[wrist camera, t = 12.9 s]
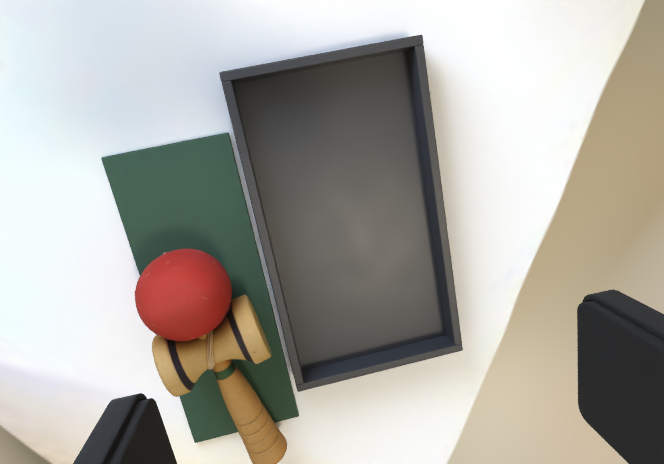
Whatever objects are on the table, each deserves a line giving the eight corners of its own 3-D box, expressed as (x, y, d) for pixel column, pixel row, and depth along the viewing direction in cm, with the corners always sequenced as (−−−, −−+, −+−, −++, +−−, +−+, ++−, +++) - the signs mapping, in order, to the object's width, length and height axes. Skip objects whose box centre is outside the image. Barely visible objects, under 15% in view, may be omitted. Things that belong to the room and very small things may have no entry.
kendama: (319, 404, 36) (232, 218, 29) (318, 473, 30) (207, 263, 23) (236, 425, 37) (131, 251, 30) (219, 497, 31) (84, 302, 24)
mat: (102, 157, 28) (101, 157, 28) (228, 132, 29) (227, 132, 29) (195, 440, 34) (194, 443, 34) (298, 414, 35) (298, 416, 34)
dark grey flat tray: (223, 76, 28) (219, 72, 26) (412, 41, 29) (422, 34, 27) (296, 376, 34) (297, 392, 32) (452, 337, 35) (462, 350, 33)
